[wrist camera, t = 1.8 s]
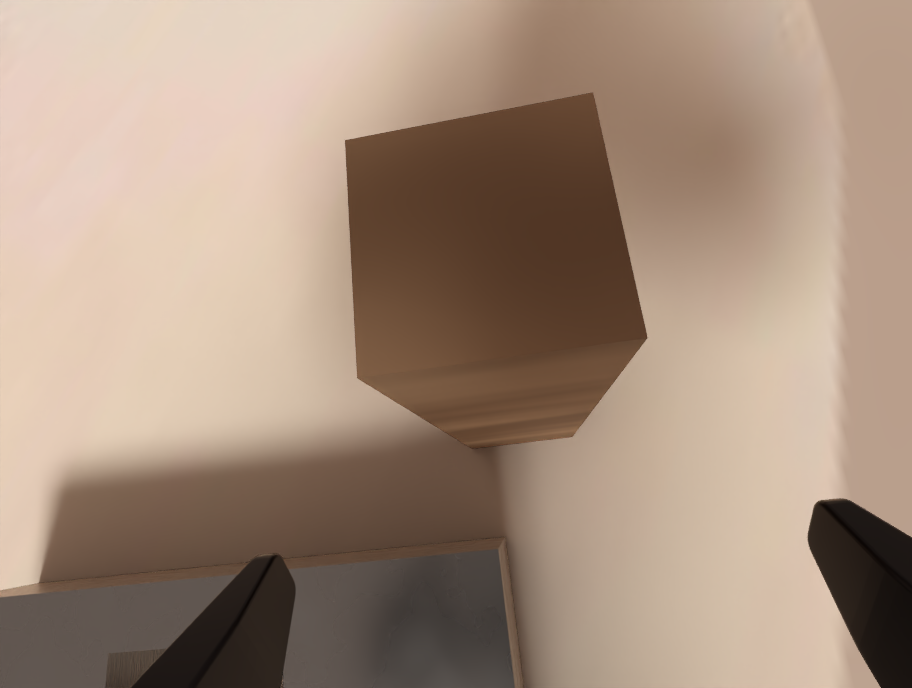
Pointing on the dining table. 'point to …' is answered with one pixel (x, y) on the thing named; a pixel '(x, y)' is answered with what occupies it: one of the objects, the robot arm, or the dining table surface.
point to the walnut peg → (492, 271)
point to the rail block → (312, 626)
